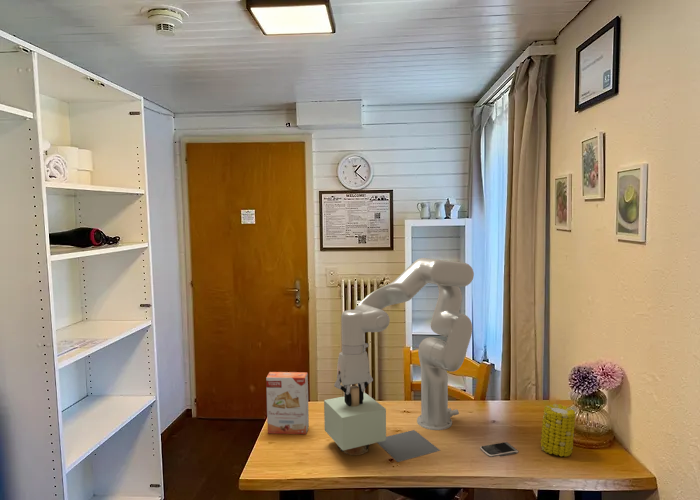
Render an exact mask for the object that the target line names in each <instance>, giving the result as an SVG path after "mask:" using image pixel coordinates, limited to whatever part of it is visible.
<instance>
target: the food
mask: <svg viewBox="0 0 700 500" xmlns="http://www.w3.org/2000/svg"><path fill="white" fill-rule="evenodd" d="M543 408H544V409H543V416H542V419H541V421H542V423H541V435H540V436H541V437H540V443H541V444H540V447H541V451H543V452H545V453H546V454H547V453H548V454H550V455H556V456H560V457H566V458H567V457H569V456H571V454H572V453H573V449H574V448H573V447H574V437H575V424H576V412H575V410H574V409H572V408H571V407H567V406H566V405H562V404H561V403H559V404H558V403H553V404H548V405H545V406H544V407H543Z"/></svg>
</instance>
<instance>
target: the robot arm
mask: <svg viewBox="0 0 700 500" xmlns="http://www.w3.org/2000/svg"><path fill="white" fill-rule="evenodd" d="M474 275H475V273H474V269H473V267H472V266H471V265H470V264H468V263H467V262H462V261H452V260H444V259H443V260H441V259H436V258H428V257H419V258H418V259H416V260H414V261H413V262H412V263H411V264H410V265H409V266H408V267H407V268H406V269H405V270H404V271H403V272H401V274H399V276H398V277H397V278H395V279H394V280H392V282H390V283H388V284H386V285H383V286H381V287H380V288H378V289H375V290H373V291H372V292H371V293H369V294H368V295H366V296H365V297H364V298H363V299H362V300H361V301H360V302H358V304H357V305H356V307H354V309H346V310H344V311H343V312H342V313H341V316H340V317H341V321H340V322H341V323H340V324H341V352H339V353H338V358H337V364H336V365H337V367H336V380H335V382H334V384H333V385H334V387H335V388H336V389H338V390H341V392H343V393H344V396H343V397H345V403H346V404H347V405H348V406H351V394H350V386H354V385H357V386H358V387H359V403H360V404H363V399H364V393H365V391H366V388H367V387H368V386H369V384H371V383H372V382H373V381H374V379H373V377H372V375H371V374H370V372H371V371H370V362H369V356H368V352H367V351H366V349H367V348H369V346H370V345H369V343H368V342H366V333H380V332H383V331H384V330H386V329H387V328H389V325H390V316H389V315H388V313H387V312H386V311H385V310H383V309H385V308H387V307H389V306H393V305H397V304H403V303H406V302H409V301H410V300H412V299H413V298H414V297H415V296H416V295H417V294H418V293H419V292H420V291H421V290H422V289H423V288H424V287H425V286H426V285H427V284H430V285H431V284H432V285H437V288H438V297H437V301H436V304H435V307H434V311H433V314H432V317H431V321H430V329H431V330H432V332H433V333H435V334H437V335H439V336H441V337H445V338H447V339H446V340H444V339H442V338H441V339H440V338H437V337H432V336H429V337H428V336H427V337H426V338H424V339H422V340H421V341H420V343H419V346H418V351H417V352H418V359H419V364H420V378H421V380H420V383H421V384H420V388H421V389H420V390H421V394H420V395H421V398H420V399H421V403H420V404H421V405H420V406H421V409H420V411H421V414H420V415H418V417H417V418H416V423H417V425H419V427H421V428H423V429H426V430H430V431H444V430H447V429H450V427H452V424H453V421H452V417H453V416H458V415H459V414H460V413H459V412H460V411H459V410H458V409H456V408H455V409H452V408H451V407H449V406H448V405H449V404H448V403H449V401H448V400H449V399H448V398H449V394H448V393H449V391H448V390H449V389H448V387H449V385H448V384H449V380H448V379H449V377H448V376H449V375H448V372H453V373H454V372H457V371H458V370H459V369H460V368H461V367H462V365H463V363H464V360H465V357H466V354H467V351H468V348H469V345H470V341H471V338H472V334H473V324H472V320H471V319H470V318H469V316H468V315H466V314H463V313H462V312H461V313H460V309H461V305H462V301H463V296H462V295H463V294H462V290H461V288H462V287H463V288H464V287H467V286H469V285H470V284H471V283H472V281H474Z"/></svg>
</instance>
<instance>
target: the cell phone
mask: <svg viewBox="0 0 700 500" xmlns="http://www.w3.org/2000/svg"><path fill="white" fill-rule="evenodd" d="M479 449H480V451H482V452H483V453H484V455H486V456H488V457H490V458H493V457H504V456H510V455H514V454H518V453H519V450H518V449H517V448H515V447H514V446H513V445H511V444H510V443H508V441H504V442H498V443H493V444H487V445H481V446H480V447H479Z"/></svg>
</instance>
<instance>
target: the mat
mask: <svg viewBox="0 0 700 500" xmlns="http://www.w3.org/2000/svg"><path fill="white" fill-rule="evenodd" d="M376 444H378V445H379V446H380V447H381V448H382V449H383V450H384V451H385V452H386V453H387V454H388V455H390V457H391V458H393V459H394V461H396V462H397V463H400V462H404V461H408V460H411V459H414V458H418V457H419V458H420V457H422V456H425V455H430V454H433V453H437V452H440V451H441V449H440V448H438V447H436V446H435V445H434V444H433V443H432V442H430V441H429V440H428V439H427V438H425V437H424V436H423V435H422V434H420V433H419V432H417V431H416V430H415V429H412V430H408V431H405V432H400V433H399V432H398V433H396V434H393V435H386V440H385V441H381V442H377V443H376Z"/></svg>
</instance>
